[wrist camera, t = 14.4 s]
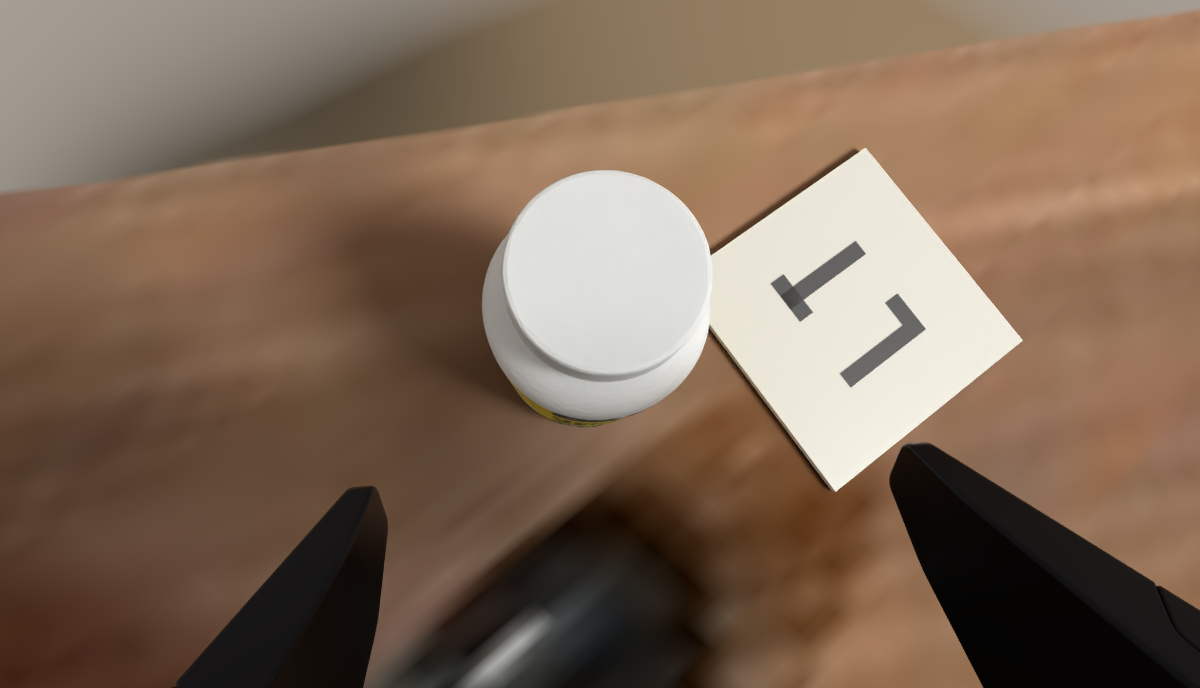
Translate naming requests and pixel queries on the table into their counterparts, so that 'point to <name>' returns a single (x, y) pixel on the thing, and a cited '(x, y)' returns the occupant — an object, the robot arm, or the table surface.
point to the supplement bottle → (599, 297)
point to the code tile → (851, 317)
